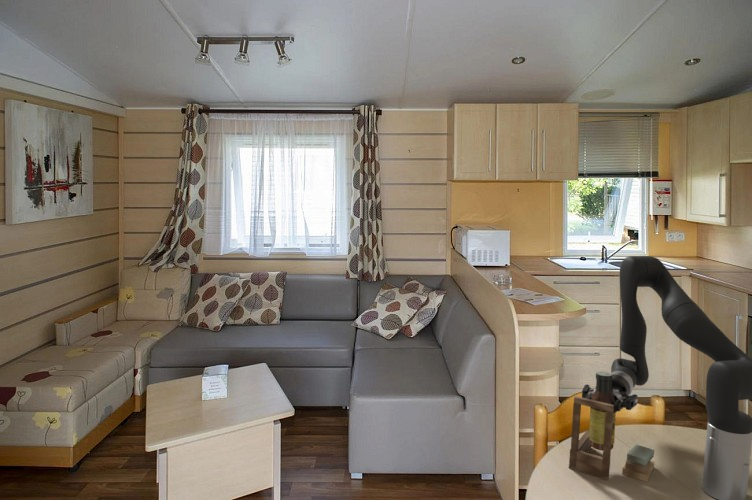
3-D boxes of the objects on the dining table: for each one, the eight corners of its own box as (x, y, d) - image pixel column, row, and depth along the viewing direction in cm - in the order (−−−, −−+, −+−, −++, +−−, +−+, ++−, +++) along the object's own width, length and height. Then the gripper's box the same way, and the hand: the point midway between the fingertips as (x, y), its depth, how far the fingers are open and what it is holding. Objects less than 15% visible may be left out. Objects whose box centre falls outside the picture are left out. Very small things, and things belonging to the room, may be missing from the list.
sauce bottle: (616, 453, 142) (620, 379, 140) (590, 450, 144) (594, 377, 141) (610, 441, 149) (614, 370, 146) (586, 439, 150) (590, 369, 148)
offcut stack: (653, 468, 146) (655, 448, 146) (647, 482, 139) (648, 462, 139) (628, 460, 150) (630, 442, 149) (621, 474, 143) (622, 455, 142)
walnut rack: (621, 456, 152) (626, 388, 150) (607, 480, 140) (612, 406, 137) (585, 446, 158) (589, 380, 155) (568, 467, 146) (572, 397, 143)
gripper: (590, 369, 160) (573, 385, 147) (644, 379, 152) (631, 398, 138) (589, 394, 161) (572, 412, 147) (643, 405, 152) (629, 426, 139)
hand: (600, 405), depth 143 cm, fingers closed on sauce bottle, 6 cm apart
